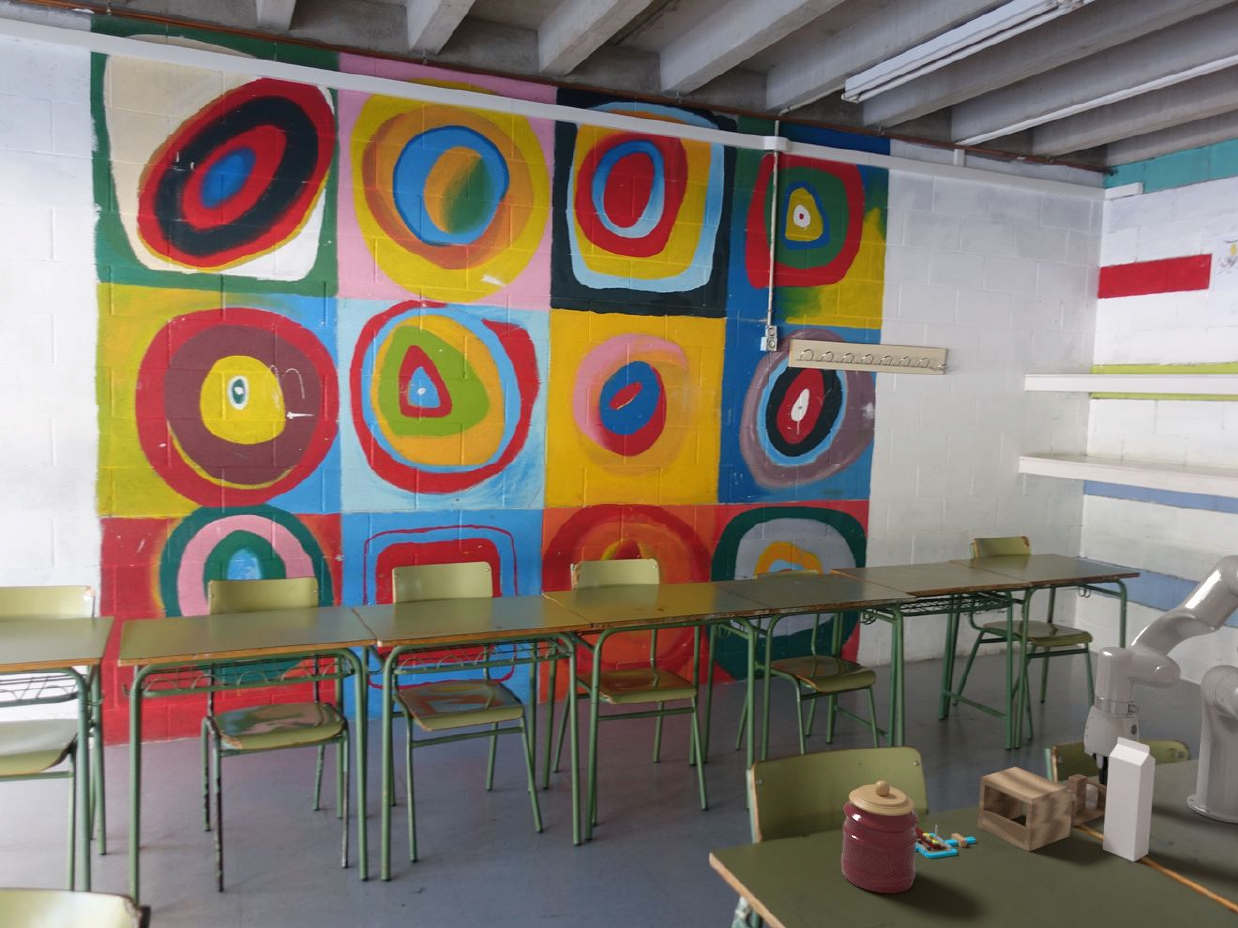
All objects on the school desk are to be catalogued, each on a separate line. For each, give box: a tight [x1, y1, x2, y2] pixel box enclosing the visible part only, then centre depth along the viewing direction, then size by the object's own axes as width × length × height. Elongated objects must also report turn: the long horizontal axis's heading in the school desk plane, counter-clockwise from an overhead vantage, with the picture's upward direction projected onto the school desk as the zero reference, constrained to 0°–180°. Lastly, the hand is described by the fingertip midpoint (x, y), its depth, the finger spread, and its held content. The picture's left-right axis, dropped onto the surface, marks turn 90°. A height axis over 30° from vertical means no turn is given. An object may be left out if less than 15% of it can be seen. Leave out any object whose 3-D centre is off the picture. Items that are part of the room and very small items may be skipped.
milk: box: [1102, 737, 1156, 863], centre depth 181 cm, size 6×6×22 cm
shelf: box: [977, 766, 1073, 852], centre depth 189 cm, size 14×12×10 cm
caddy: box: [1067, 773, 1107, 828], centre depth 198 cm, size 14×7×8 cm, turn 122°
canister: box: [840, 780, 919, 894], centre depth 168 cm, size 13×13×18 cm
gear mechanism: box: [915, 825, 977, 859], centre depth 182 cm, size 20×5×9 cm
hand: (1106, 786), depth 205 cm, fingers closed
